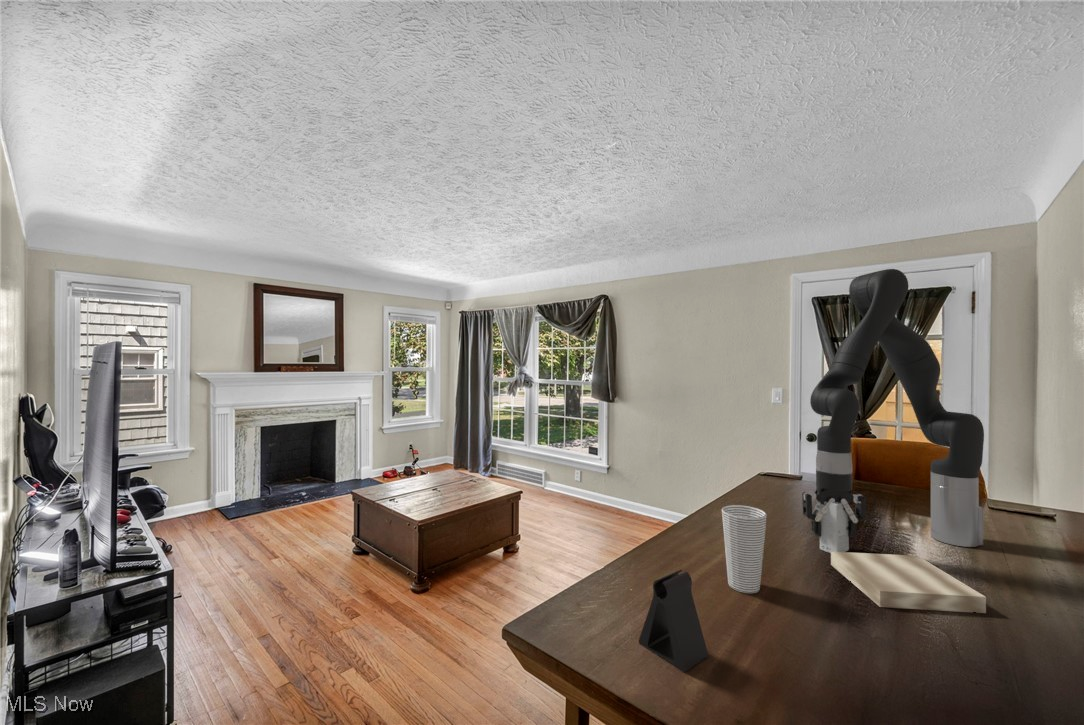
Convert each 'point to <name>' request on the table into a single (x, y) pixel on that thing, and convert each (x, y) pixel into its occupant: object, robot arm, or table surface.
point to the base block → (907, 582)
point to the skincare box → (834, 529)
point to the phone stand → (674, 623)
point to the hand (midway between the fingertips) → (833, 536)
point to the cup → (744, 546)
